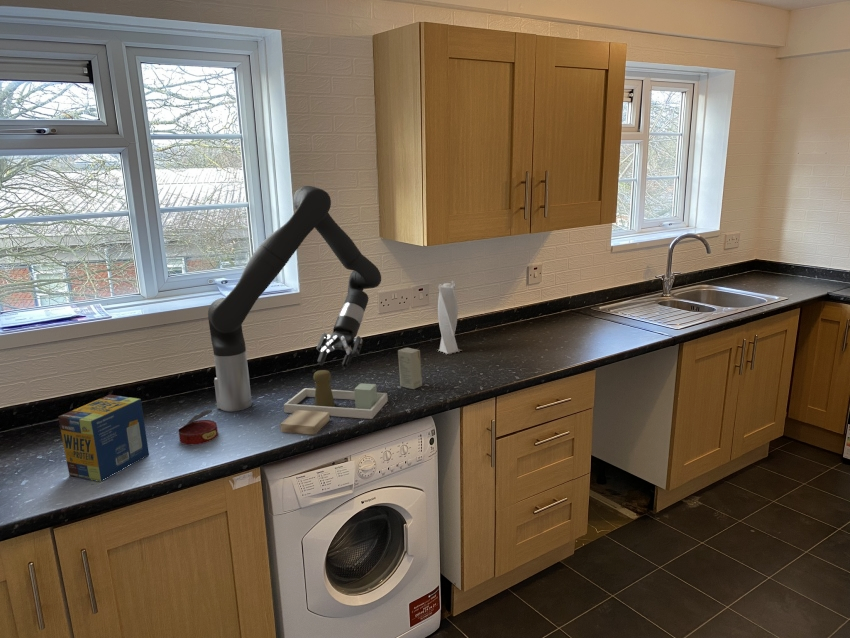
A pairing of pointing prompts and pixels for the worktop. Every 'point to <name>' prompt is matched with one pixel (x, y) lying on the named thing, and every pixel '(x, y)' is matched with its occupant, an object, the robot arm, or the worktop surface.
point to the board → (305, 422)
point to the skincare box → (410, 368)
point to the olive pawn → (323, 389)
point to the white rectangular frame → (335, 411)
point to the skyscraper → (447, 318)
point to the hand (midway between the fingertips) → (331, 365)
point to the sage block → (365, 396)
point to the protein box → (103, 436)
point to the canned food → (198, 430)
